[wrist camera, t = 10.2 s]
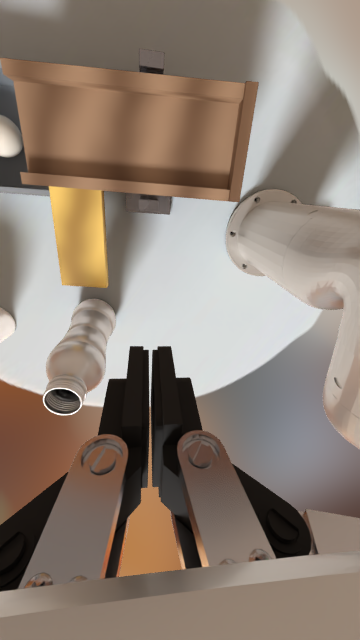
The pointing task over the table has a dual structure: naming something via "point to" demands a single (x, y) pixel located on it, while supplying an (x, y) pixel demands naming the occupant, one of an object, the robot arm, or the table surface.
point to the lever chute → (124, 146)
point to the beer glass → (6, 325)
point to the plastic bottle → (79, 357)
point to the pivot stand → (146, 202)
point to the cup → (6, 171)
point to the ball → (9, 138)
